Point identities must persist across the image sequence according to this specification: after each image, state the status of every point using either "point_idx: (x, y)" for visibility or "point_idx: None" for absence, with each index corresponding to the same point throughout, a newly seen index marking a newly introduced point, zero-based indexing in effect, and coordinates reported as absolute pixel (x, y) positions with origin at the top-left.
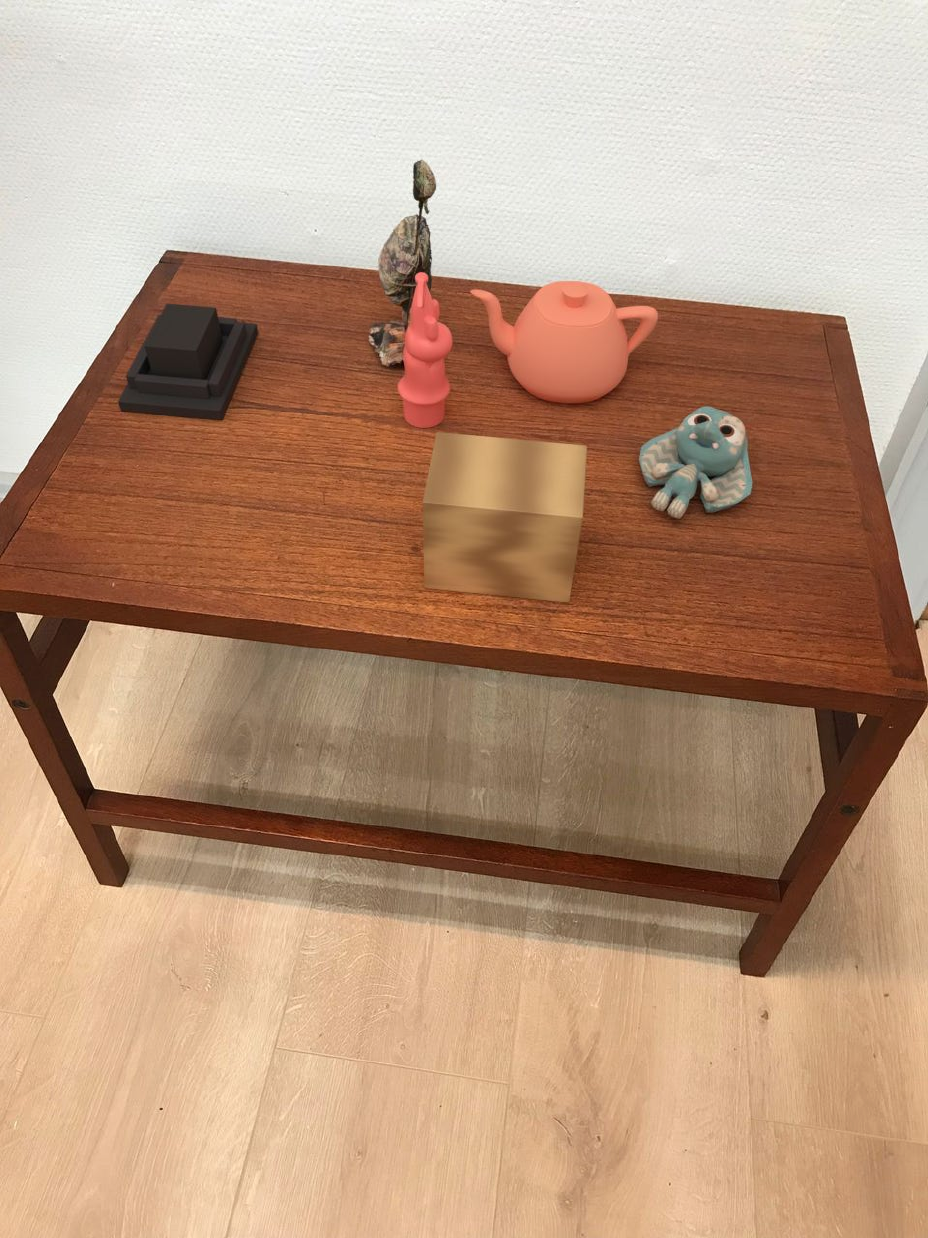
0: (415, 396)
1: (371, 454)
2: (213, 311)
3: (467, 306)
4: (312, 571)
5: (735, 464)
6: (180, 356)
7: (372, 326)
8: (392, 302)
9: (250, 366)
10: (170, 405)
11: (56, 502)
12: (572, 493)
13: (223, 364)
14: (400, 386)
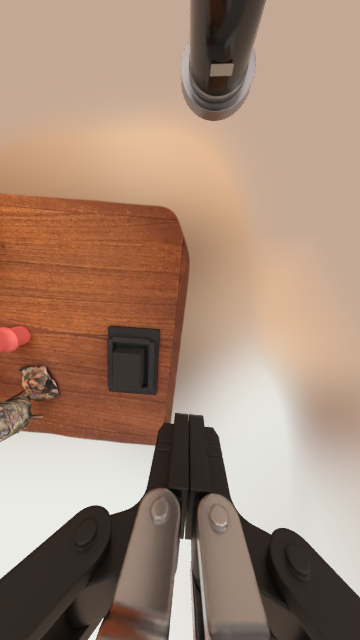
0: (3, 330)
1: (37, 306)
2: (113, 384)
3: None
4: (43, 228)
5: None
6: (123, 351)
7: (57, 393)
8: (27, 397)
9: None
10: (132, 329)
11: (170, 264)
12: None
13: (108, 354)
14: (14, 337)
